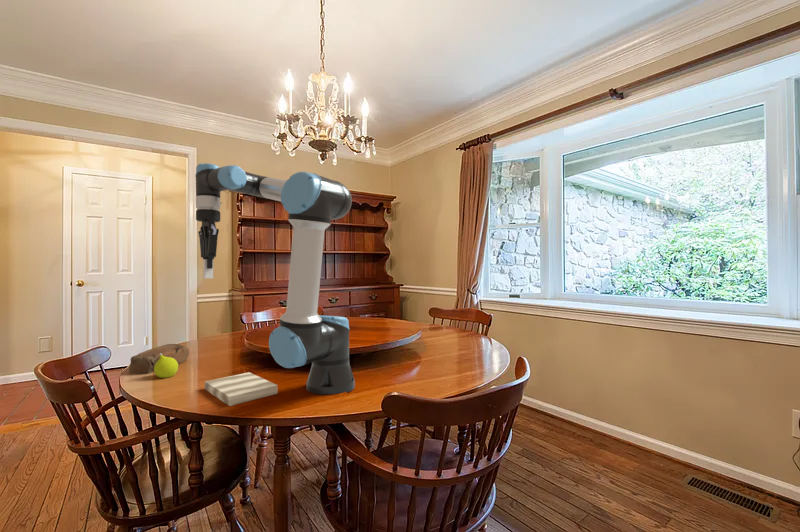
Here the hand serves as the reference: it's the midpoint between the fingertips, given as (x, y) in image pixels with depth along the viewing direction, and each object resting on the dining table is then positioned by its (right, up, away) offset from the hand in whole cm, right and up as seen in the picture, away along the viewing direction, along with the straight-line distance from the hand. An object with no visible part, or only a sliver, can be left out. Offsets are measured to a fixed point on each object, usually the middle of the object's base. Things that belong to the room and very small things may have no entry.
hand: (208, 278), depth 126 cm
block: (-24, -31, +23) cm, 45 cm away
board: (+17, -34, -14) cm, 41 cm away
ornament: (-15, -35, 0) cm, 38 cm away
